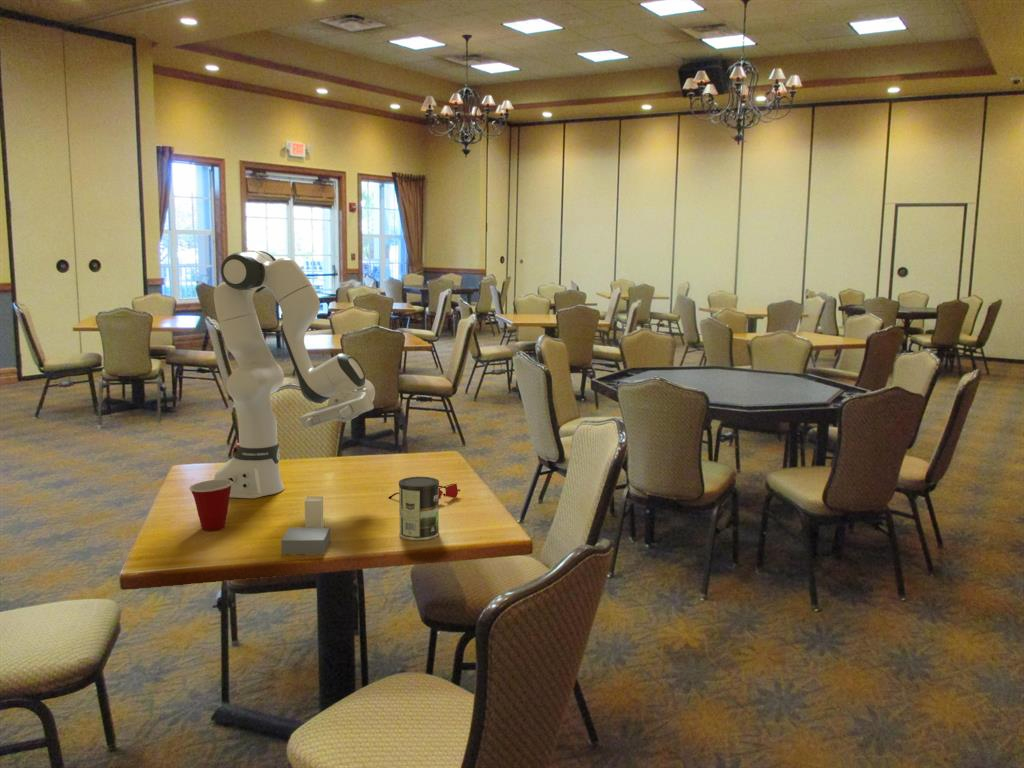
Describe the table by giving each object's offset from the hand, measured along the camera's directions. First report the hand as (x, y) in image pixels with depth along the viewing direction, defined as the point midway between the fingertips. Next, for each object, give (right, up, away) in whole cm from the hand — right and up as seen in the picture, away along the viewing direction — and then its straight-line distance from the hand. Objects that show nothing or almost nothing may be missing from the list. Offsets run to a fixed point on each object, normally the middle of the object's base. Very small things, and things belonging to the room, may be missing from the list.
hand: (323, 419), depth 232 cm
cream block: (-1, -29, -9) cm, 30 cm away
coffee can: (+27, -29, -9) cm, 41 cm away
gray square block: (0, -31, -21) cm, 37 cm away
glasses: (+25, -25, +25) cm, 43 cm away
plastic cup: (-28, -28, -6) cm, 40 cm away
